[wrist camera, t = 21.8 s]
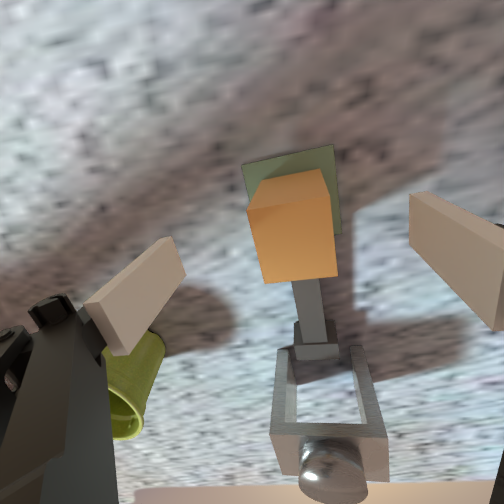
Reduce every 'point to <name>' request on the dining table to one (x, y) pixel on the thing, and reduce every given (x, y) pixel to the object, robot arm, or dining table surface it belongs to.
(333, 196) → the mat
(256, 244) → the plug
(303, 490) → the housing
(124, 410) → the plant pot
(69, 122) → the dining table surface
